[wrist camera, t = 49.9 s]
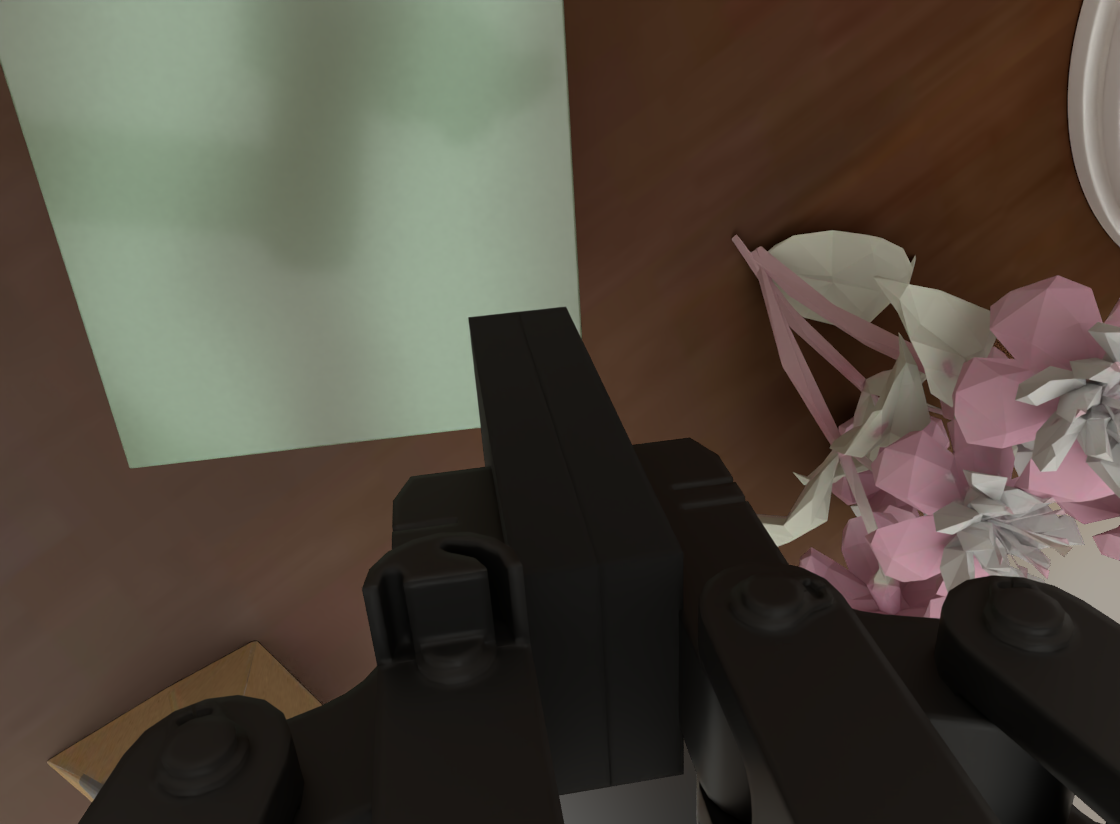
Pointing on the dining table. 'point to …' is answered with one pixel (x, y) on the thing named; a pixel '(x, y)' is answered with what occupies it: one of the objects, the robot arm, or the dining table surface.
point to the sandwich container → (228, 676)
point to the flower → (975, 430)
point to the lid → (296, 205)
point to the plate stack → (1097, 109)
